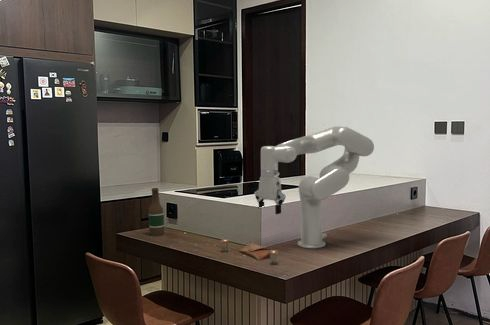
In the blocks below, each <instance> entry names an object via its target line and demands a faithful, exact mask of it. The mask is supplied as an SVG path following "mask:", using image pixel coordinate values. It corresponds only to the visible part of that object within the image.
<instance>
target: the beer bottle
mask: <svg viewBox="0 0 490 325" xmlns="http://www.w3.org/2000/svg"><path fill="white" fill-rule="evenodd" d="M164 214H165V213H164V208H163V206H162V205H161V202H160V194H159V188H158V187H153V188H151V204H150V205H149V208H148V226H149V228H148V229H149V235H150V236H151V237H160V236H163V235H164V234H165V215H164Z"/></svg>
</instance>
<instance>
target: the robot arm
mask: <svg viewBox="0 0 490 325" xmlns="http://www.w3.org/2000/svg"><path fill="white" fill-rule="evenodd" d="M336 146H341V147H342V146H343V147H344V150H343V151H344V152H343V154H342V155H341V156H340V157H339V158H337V160H335V161H333V162H331V163H330V164H328V165H326V166H324V167H323V168H322V169H321V170H320V172H319V177H315V176H312V175H311V176H309V175H308V176H305V177H303V178H302V179H301V180H300V182H299V184H298V195H299V200H300V240H298V241H297V246H298V247H301V248H305V249H320V248H323V247H325V246H326V242H325V241H324V240H323V239H324V238H327V233H325V232H324V233H323V227H322V226H323V222H322V220H323V217H322V215H323V210H322V208H323V206H322V205H323V204H322V201H324V200H326V199H328V198H330V197H331V196H333V195H334V194H336V193H337V192H339V191H340V190H342V189H344V188H345V187H346V186H347V185H348V183H349V181H350V174H351V173H353V172H354V171H355V170H356V168H358V165H359V161H360V157H369V156H371V155H372V153H373V152H374V150H375V145H374V142H373V140H372V139H370V138H369V137H368V136H365V135H363V134H361V133H359V132H358V131H356V130H354V129H352V128H350V127H348V126H341V125H340V126H339V125H338V126H336V125H335V126H333V127H332V126H331V127H328V128H325V129H324V130H320V131H317V132H315V133H312V134H308V135H304V136H300V137H298V138H294V139H291V140H288V141H286V142H281V143H278V144H277V145H275V146H274V145H264V146H261V148H260V176H259V182H258V189H256V191H254V192H253V194H254V196H255V199H256V201H257V203H258V208H259V207H262V206H264V207H265V201H264V200H267V201H274V203H275V206H274V208H275V211H274V212H275V215H279V214H282V205H283V203H284V202H285V200H286V198H287V196H286V195H285V193H283V192H282V183H281V178H280V177H279V176H280V172H279V163H285V164H286V163H292V162H294V161H295V160H296V159H297V156H299V155H303V154H304V155H305V154H307V155H309V154H316V153H319V152H322V151H325V150H328V149H330V148H333V147H336Z"/></svg>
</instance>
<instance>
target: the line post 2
mask: <svg viewBox="0 0 490 325" xmlns="http://www.w3.org/2000/svg"><path fill="white" fill-rule="evenodd" d="M278 254H279V253H278V250H277V249H271V250H270V259H269V264H270V265H278V263H279V262H278Z"/></svg>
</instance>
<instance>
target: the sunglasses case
mask: <svg viewBox="0 0 490 325" xmlns="http://www.w3.org/2000/svg"><path fill="white" fill-rule="evenodd" d="M270 250H272V249H271V248H269V247H268V248H267V247H265V246H263V245H260V244H257V243H255V242H252V241H250V242H249V243H248V244H246V245H245V246H244V247H242V248H241V249H240V250H238V251H237V252H238V253H241V254H243V255H246V256H249V257H250V258H253V259H255V260H256V261H266V260H270Z"/></svg>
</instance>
